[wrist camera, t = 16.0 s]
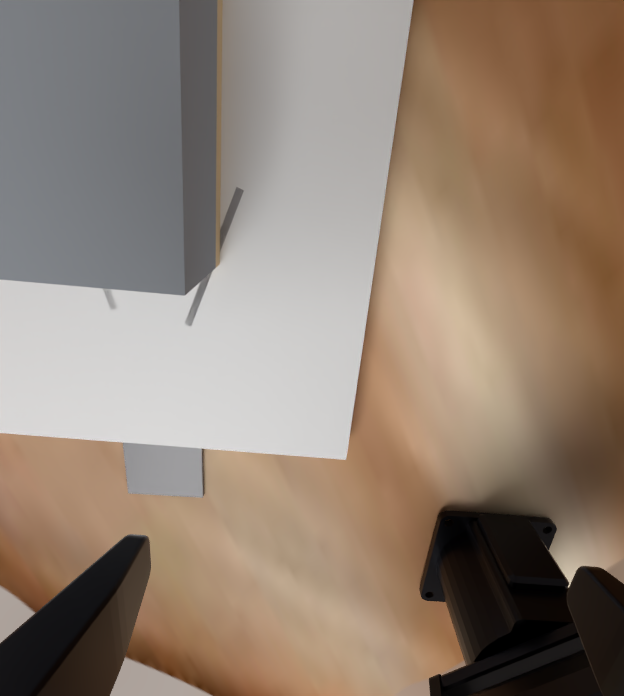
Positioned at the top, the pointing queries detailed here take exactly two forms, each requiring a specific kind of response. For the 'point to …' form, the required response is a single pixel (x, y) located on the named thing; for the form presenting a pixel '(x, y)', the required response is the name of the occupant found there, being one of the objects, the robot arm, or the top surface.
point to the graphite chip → (164, 470)
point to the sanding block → (110, 142)
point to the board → (240, 260)
